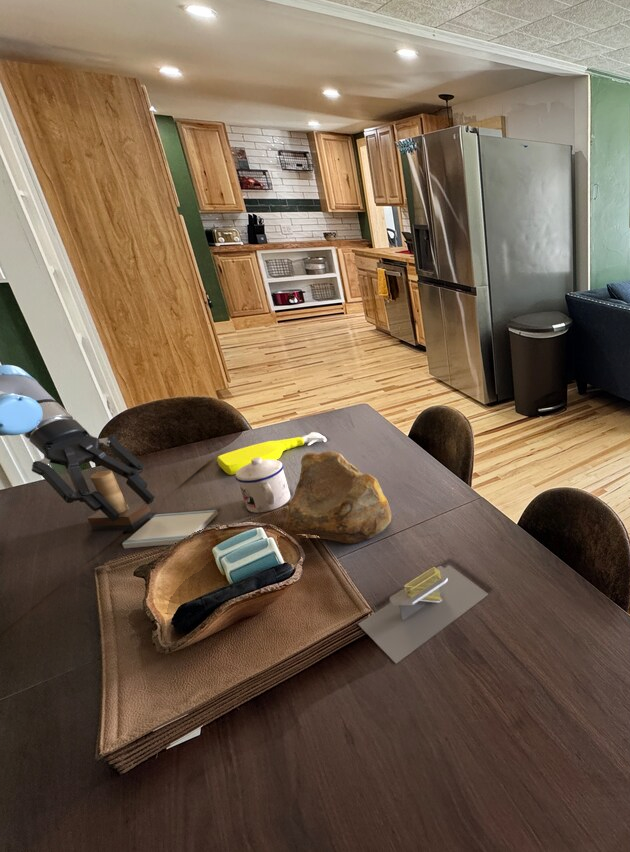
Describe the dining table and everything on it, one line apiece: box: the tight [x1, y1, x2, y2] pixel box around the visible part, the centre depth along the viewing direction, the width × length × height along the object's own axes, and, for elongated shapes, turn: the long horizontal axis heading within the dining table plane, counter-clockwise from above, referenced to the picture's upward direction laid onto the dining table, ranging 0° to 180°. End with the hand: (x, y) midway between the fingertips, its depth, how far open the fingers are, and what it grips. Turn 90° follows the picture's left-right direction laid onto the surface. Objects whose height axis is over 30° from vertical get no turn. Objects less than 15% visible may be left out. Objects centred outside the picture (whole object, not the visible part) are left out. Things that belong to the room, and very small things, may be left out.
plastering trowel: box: [357, 565, 489, 665], centre depth 81 cm, size 12×18×7 cm, turn 142°
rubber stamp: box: [87, 469, 154, 534], centre depth 100 cm, size 8×5×13 cm, turn 95°
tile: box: [121, 509, 219, 549], centre depth 101 cm, size 12×10×1 cm
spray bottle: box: [216, 431, 328, 476], centre depth 131 cm, size 3×11×24 cm
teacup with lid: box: [234, 457, 291, 514], centre depth 108 cm, size 12×9×12 cm
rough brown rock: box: [283, 450, 392, 545], centre depth 99 cm, size 23×17×15 cm
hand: (134, 508), depth 100 cm, fingers closed on rubber stamp, 6 cm apart
